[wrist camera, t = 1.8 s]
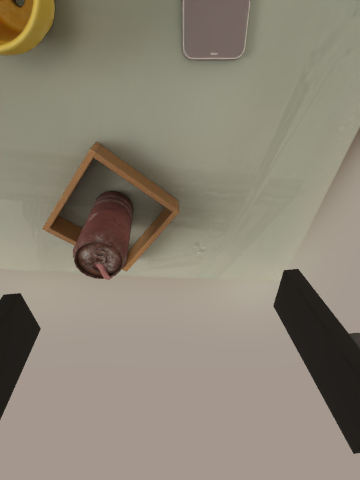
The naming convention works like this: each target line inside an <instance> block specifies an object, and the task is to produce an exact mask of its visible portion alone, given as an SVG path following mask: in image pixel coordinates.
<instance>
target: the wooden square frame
mask: <svg viewBox="0 0 360 480" xmlns="http://www.w3.org/2000/svg"><path fill="white" fill-rule="evenodd" d="M94 158H95V159H96V160H98V161H99V162H101V163H102V164H104V165H105V166H107V167H108V168H109V169H111V170H112V171H114V172H115V173H117V174H118V175H120V176H121V177H122V178H124V179H125V180H127V181H128V182H130V183H131V184H133V185H134V186H136V187H137V188H138V189H140V190H141V191H143V192H144V193H146V194H147V195H149V196H150V197H152V198H153V199H154V200H156V201H157V202H159V203H160V204H162V205H163V206H165V207H166V208H165V209H164V210H163V211H162V212H161V214H160V215H159V216H158V217H157V218H156V220H155V221H154V222H153V223H152V224H151V225H150V227H149V228H148V229H147V230H146V231H145V233H144V234H143V235H142V236H141V237H140V238H139V240H138V241H137V242H136V243H135V244H134V246H133V247H132V248H131V249H130V250H129V252H128V253H127V261H126V264H125V266H124V267H123V268H122V269H123V270H125V271H128V269H129V268H130V267H131V266H132V265H133V264H134V263H135V262H136V260H137V259H138V258H139V257H140V256H141V255H142V254H143V252H144V251H145V250H146V249H147V248H148V247H149V246H150V245H151V243H152V242H153V241H154V240H155V239H156V238H157V237H158V236H159V234H160V233H161V232H162V231H163V230H164V229H165V228H166V226H167V225H168V224H169V223H170V222H171V221H172V220H173V219H174V217H175V216H176V215H177V214H178V213H179V212H180V210H179V205H178V200H176V199H175V198H174V197H172V196H171V195H169V194H168V193H167V192H165V191H164V190H163V189H161V188H160V187H158V186H157V185H156V184H154V183H153V182H152V181H150V180H149V179H147V178H146V177H145V176H143V175H142V174H140V173H139V172H138V171H136V170H135V169H134V168H132V167H131V166H129V165H128V164H127V163H125V162H124V161H122V160H121V159H120V158H118V157H117V156H116V155H114V154H113V153H111V152H110V151H109V150H107V149H106V148H105V147H103V146H102V145H100V144H99V143H98V142H96V143H95V144H94V145H93V146H92V147H91V148H90V150H89V152H88V153H87V155H86V157H85V158H84V160H83V162H82V163H81V165H80V167H79V168H78V170H77V172H76V173H75V175H74V177H73V178H72V180H71V182H70V183H69V185H68V187H67V188H66V190H65V192H64V193H63V195H62V197H61V198H60V200H59V202H58V203H57V205H56V207H55V208H54V210H53V212H52V213H51V215H50V217H49V218H48V220H47V222H46V223H45V225H44V227H43V228H42V229H43V230H45V231H48V232H49V233H51V234H53V235H55V236H57V237H59V238H61V239H63V240H65V241H67V242H69V243H71V244H73V245H76V242H77V240H78V238H79V236H80V234H81V231H82V228H80V227H78V226H76V225H74V224H72V223H71V222H69V221H67V220H65V219H63V218H61V217H60V216H58V215H59V214H60V212H61V210H62V209H63V207H64V206H65V204H66V202H67V201H68V199H69V197H70V196H71V194H72V193H73V191H74V189H75V188H76V186H77V185H78V183H79V181H80V180H81V178H82V176H83V175H84V173H85V172H86V170H87V168H88V167H89V165H90V164H91V162H92V160H93V159H94Z"/></svg>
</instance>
